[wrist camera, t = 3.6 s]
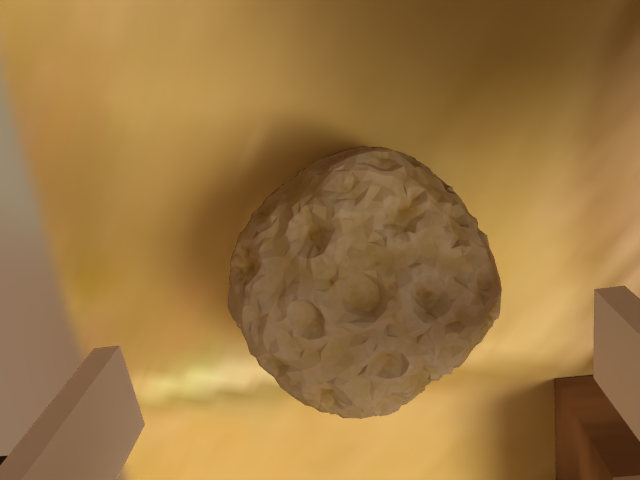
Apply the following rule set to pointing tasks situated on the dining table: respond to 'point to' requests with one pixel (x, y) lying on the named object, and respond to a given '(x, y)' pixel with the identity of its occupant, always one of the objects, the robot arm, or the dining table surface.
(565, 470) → the walnut block
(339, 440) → the dining table surface
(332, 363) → the brown cratered rock
